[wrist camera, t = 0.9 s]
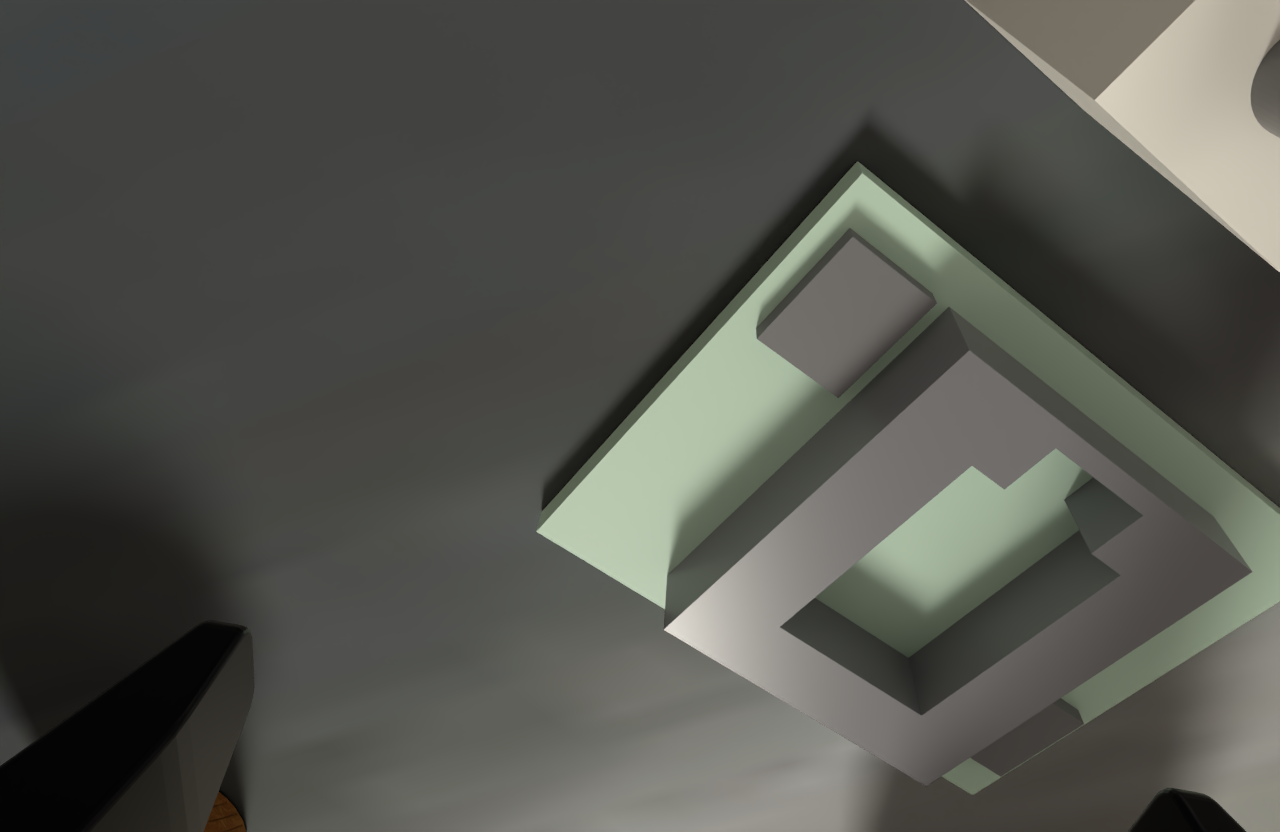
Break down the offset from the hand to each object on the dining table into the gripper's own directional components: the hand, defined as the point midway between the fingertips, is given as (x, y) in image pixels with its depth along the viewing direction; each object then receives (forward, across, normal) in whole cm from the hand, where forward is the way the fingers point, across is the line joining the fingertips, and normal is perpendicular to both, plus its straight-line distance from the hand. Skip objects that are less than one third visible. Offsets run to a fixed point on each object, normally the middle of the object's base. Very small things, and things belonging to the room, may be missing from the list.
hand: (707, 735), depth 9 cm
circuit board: (+14, -7, +7) cm, 17 cm away
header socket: (+14, -7, +7) cm, 17 cm away
